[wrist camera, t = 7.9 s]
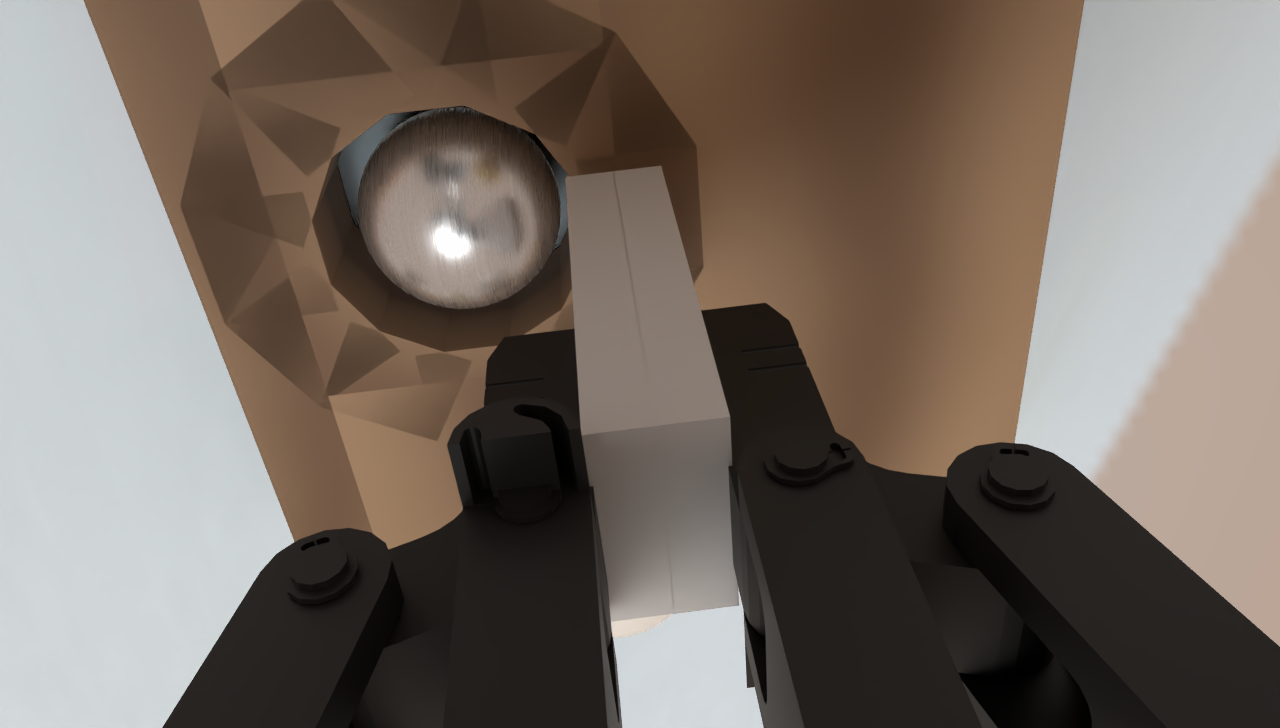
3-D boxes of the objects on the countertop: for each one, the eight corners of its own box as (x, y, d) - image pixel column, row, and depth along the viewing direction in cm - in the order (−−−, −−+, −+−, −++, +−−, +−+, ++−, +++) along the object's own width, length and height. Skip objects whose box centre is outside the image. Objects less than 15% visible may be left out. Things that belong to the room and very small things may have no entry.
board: (330, 502, 23) (310, 581, 21) (64, -256, 15) (-15, -251, 12) (964, 423, 23) (1006, 492, 21) (1058, -361, 15) (1143, -374, 13)
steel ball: (366, 354, 17) (571, 337, 17) (319, 161, 15) (551, 143, 15) (391, 259, 20) (566, 245, 20) (355, 86, 18) (549, 72, 18)
